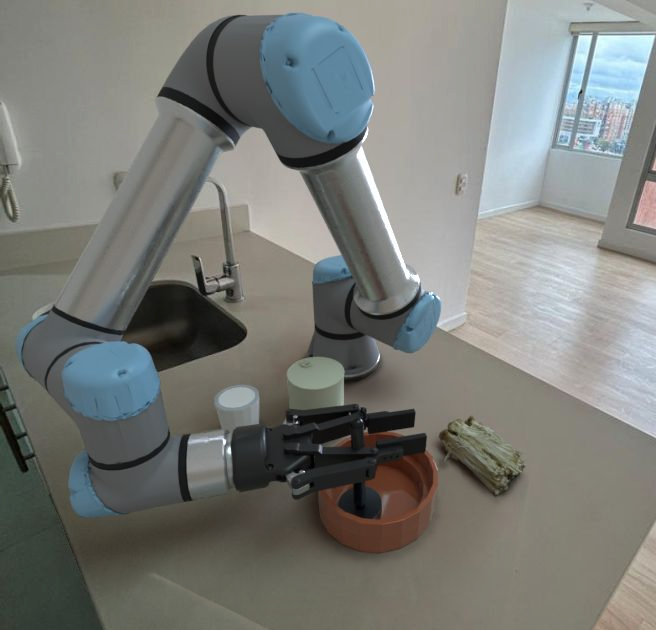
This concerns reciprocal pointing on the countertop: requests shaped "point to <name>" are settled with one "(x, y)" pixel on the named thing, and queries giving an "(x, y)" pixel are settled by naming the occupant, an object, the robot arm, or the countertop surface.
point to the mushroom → (482, 453)
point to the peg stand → (360, 484)
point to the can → (315, 383)
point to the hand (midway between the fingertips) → (419, 429)
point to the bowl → (385, 502)
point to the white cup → (237, 406)
